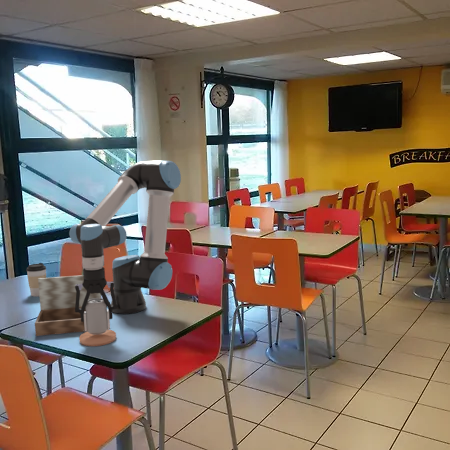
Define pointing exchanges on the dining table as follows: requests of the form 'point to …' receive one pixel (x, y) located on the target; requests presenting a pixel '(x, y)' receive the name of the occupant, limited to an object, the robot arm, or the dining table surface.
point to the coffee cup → (35, 277)
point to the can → (96, 316)
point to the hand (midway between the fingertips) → (97, 328)
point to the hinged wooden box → (60, 305)
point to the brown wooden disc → (97, 338)
